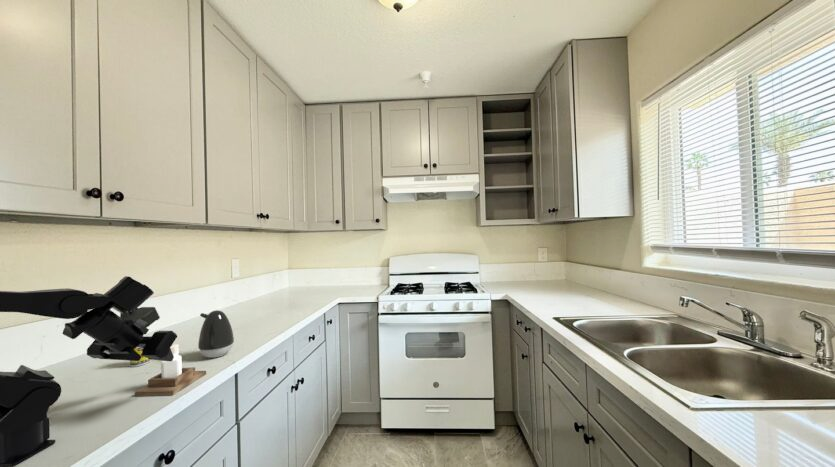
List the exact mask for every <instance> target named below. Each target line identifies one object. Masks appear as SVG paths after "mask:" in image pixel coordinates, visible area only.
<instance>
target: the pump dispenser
mask: <svg viewBox="0 0 835 467" xmlns="http://www.w3.org/2000/svg"><path fill="white" fill-rule="evenodd" d="M199 316H200V317H201V318H204V321H203V323H202V326H201V329H200V332H199V337H198V349H199V352H200V353H201V355H202V356H203V357H205V358H207V359H215V358H219V357H223V356H224V355H226V354H228V353H229V352H230V351H231V349H232V348H233V344H234V343H235V336H234V333H233V328H232V325H231V322H230V320H229V318H228V316H227V315H226V314H225V313H224V311H222V310H219V309H218V310H217V309H216V310H213V311H211V312H209V313H207V314H206V313H203V312H202V313H201V312H200V315H199Z"/></svg>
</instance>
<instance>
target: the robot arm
mask: <svg viewBox="0 0 835 467" xmlns="http://www.w3.org/2000/svg"><path fill="white" fill-rule="evenodd" d="M153 294H155V293H154V291H153V290H152V289H151V288H150V287H149V286H148V285H146V284H143V283H141V282H140V281H138V280H136V279H134V278H133V277H131V276H124V277H122V278H120V280H119V282H118V283H116V284H115V285H114V286H112V287H111V288H110V289H109V290H107V291H106V292H105V293H99V292H94V293H87V292H86V291H83V290H80V289H74V288H69V287H68V288H54V289H52V288H51V289H38V290H28V291H27V290H26V291H13V290H11V291H10V290H9V291H8V290H0V313H20V314H28V315H33V316H34V315H35V316H40V317H41V316H42V317H47V318H55V319H56V318H57V319H63V320H64V319H65V320H71V319H74V320H73V321H71V322H66V323H64V328H63V330H62V335H64V336H66V337H68V338H69V339H72V340H75V339H77V338H78V337H79V336H80V335H81V334H83V333H84V334H85V335H87V336H88V337H90V338H92V339H93V342H92V343H91V344H90V345H89V346H88V347H87V349H86V355H87V356H88V357H90V358H92V359H100V360H109V361H110V360H113V361H129V362H130V361H139V360H140V359H141V356H140V355H139V354H138V353H137V352H136V351H135V350H134V349H135V348H136V347H144V348H143V349H142V355H143V356H144V357H146V358H148V359H149V360H150V361H159V362H162V361H172V360H173V358H174V356H173V354H172V351H171V348H170V347H171V346H172V345H173V344H174V342H175V341H176V340H177V338H178V335H177V333H176V332H174V331H173V330H157V331H155V332H153V334H152V335H151V336H147V334H148V332H149V331H150V329H149V328H148V327H150V326H151V325H152V324H153V323H154V322H156V321H158V320H160V318H161V317H160V315H159V312H158V311H157V308H156V307H155V306H143V307H141V305H143V304H144V303H145V302H146V301H147V300H148V299H149V298H150V297H151V296H153ZM111 309H113V310H115V311H116V312H118V313H120V315H118V314H117V313H116V312H113V311H112V310H111ZM144 335H145V336H144ZM54 379H55V376H54V375H53V374H51V373H49V371H47V370H38V369H33V368H30V367H28V366H27V365H24V364H20V366H19V367H18V368H17V370H16V371H0V467H13V466H16V465H18V464H21V463H22V462H23V461H25V460H27V459H29V458H31V457H32V456H34V455H37V454H38V453H39V452H42V451H43V450H45V449H46V448H48V447H50V446H52V445H53V444H55V443H56V439H50V437H51V436H50V434H51V433H50V432H51V430H50V417H48V411H49V408H50V407H51V406H52V407H53V405H54V404H55V403H56V402H58V400H59V399H60V396H61V394H62V387H61V385H60V384H59V383H58V382H57V381H56V380H54Z"/></svg>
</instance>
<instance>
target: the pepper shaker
mask: <svg viewBox="0 0 835 467" xmlns="http://www.w3.org/2000/svg"><path fill="white" fill-rule="evenodd" d="M179 346H180V345H179V344H178V343H177V344H174V343H173V344H172V346H171V347H170V348H171V351H172V354H173V356H174V358H173V360H172V361H160V366H161V367H160V370H161V374H162V378H175V377H177V376H179V375H180V374H182V368H183V367H182V366H183V365H182V364H183V363H182V360H183V359H182V355H180V354H179V351H180V350H179V348H180V347H179Z"/></svg>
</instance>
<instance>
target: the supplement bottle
mask: <svg viewBox="0 0 835 467" xmlns="http://www.w3.org/2000/svg"><path fill="white" fill-rule="evenodd" d="M143 348H144V347H136V348H135V349H134V350H135V351H136V352H137V353H138V354H139V355H140V356H141V359H140V360H139V361H129V366H130V367H133V368H136V367H141V366H144V365H146V364H148V363H150V361H151V360H149V359H148V358H146V357H144V356H143V355H142V349H143Z"/></svg>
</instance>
